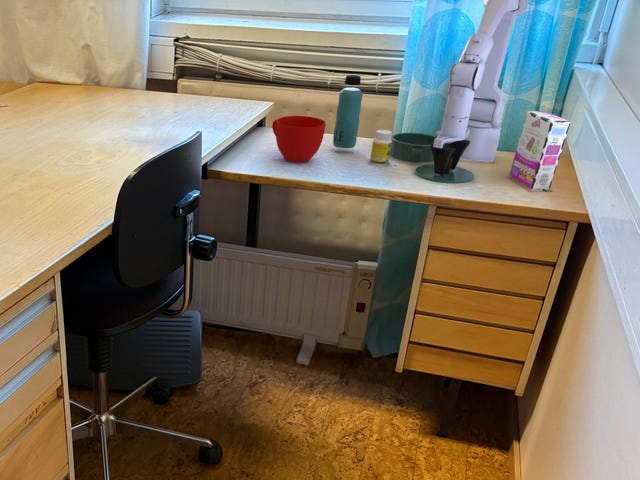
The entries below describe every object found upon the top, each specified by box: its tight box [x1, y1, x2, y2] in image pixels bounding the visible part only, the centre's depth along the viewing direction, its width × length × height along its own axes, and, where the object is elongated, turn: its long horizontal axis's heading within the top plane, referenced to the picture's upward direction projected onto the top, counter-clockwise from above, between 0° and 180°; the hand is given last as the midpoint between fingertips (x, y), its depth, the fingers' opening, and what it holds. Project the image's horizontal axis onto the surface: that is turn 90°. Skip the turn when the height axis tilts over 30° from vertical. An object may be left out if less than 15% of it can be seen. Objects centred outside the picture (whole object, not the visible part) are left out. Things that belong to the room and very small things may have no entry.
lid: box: [414, 156, 475, 184], centre depth 177 cm, size 14×14×5 cm
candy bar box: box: [508, 110, 572, 192], centre depth 169 cm, size 11×5×16 cm, turn 5°
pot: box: [389, 132, 438, 163], centre depth 192 cm, size 13×19×5 cm
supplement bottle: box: [369, 129, 393, 165], centre depth 185 cm, size 5×5×8 cm
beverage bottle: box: [332, 74, 364, 149], centre depth 193 cm, size 6×7×20 cm
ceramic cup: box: [271, 115, 327, 164], centre depth 189 cm, size 13×17×10 cm
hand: (444, 171), depth 177 cm, fingers open, 5 cm apart
